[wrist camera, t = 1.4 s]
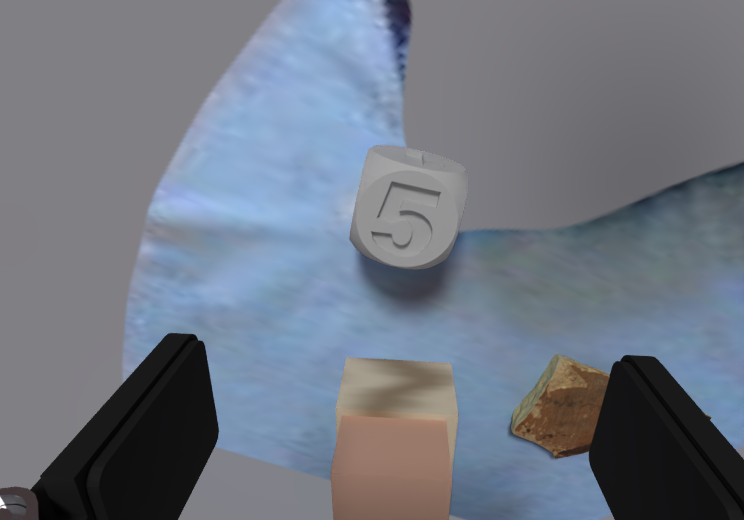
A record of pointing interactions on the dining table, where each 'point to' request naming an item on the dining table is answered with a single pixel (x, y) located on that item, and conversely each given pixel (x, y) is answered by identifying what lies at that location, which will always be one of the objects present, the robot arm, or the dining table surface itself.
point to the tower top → (391, 469)
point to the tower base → (399, 392)
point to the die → (408, 207)
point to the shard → (562, 407)
